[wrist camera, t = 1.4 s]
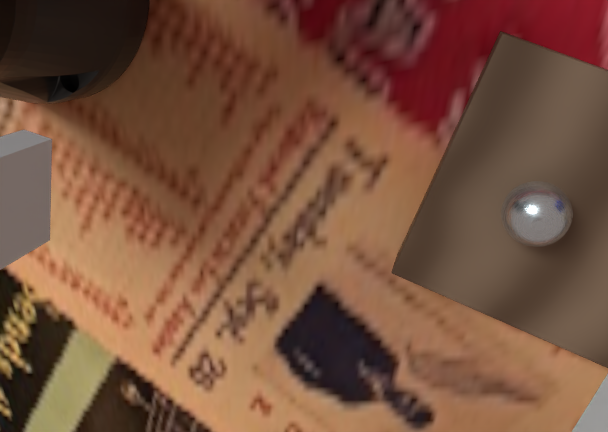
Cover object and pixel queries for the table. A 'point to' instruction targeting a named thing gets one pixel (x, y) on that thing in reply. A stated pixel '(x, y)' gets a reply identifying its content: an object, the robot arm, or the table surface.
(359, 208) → the table surface
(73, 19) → the robot arm
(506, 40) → the deck
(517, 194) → the ball
